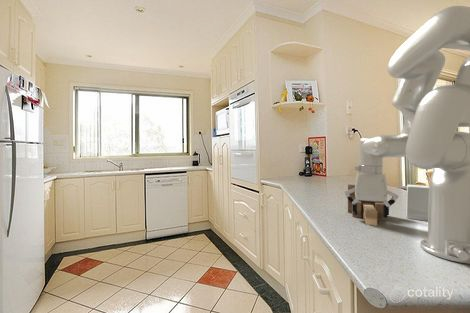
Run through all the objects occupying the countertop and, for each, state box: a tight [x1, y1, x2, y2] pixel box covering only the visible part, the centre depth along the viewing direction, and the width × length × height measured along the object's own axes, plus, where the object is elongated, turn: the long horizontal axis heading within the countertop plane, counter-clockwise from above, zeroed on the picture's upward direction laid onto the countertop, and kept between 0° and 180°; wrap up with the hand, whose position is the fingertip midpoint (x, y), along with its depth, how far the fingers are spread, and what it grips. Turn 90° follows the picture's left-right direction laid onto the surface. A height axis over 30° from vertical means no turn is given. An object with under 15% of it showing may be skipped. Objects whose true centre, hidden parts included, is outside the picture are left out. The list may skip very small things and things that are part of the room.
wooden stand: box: [347, 183, 386, 221], centre depth 91 cm, size 8×14×12 cm, turn 65°
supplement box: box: [405, 184, 429, 222], centre depth 88 cm, size 7×7×13 cm
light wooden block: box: [361, 203, 378, 227], centre depth 86 cm, size 12×4×5 cm, turn 155°
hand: (369, 215), depth 84 cm, fingers open, 9 cm apart
